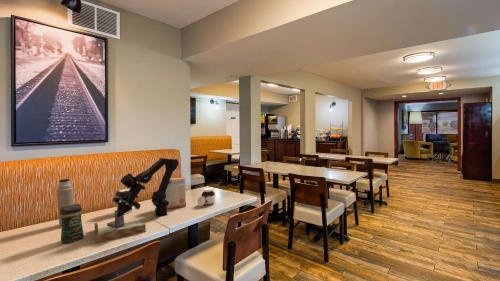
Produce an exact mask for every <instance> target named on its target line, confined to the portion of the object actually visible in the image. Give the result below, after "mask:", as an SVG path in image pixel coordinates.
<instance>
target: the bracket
mask: <svg viewBox="0 0 500 281" xmlns="http://www.w3.org/2000/svg"><path fill="white" fill-rule="evenodd" d="M120 210H121V209H119V210H117V209H116V210H114V220H113V221H111V222H110V221H109V222H108V223H106V225H107V226H106V227H108V226H109V227H112V228H115V229H118V228H120V227H123V226H124V223H125V218H124V217H125V216H124V215H125V214H123V215H121V216H120V217H117V215H118V214H119V212H120Z"/></svg>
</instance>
